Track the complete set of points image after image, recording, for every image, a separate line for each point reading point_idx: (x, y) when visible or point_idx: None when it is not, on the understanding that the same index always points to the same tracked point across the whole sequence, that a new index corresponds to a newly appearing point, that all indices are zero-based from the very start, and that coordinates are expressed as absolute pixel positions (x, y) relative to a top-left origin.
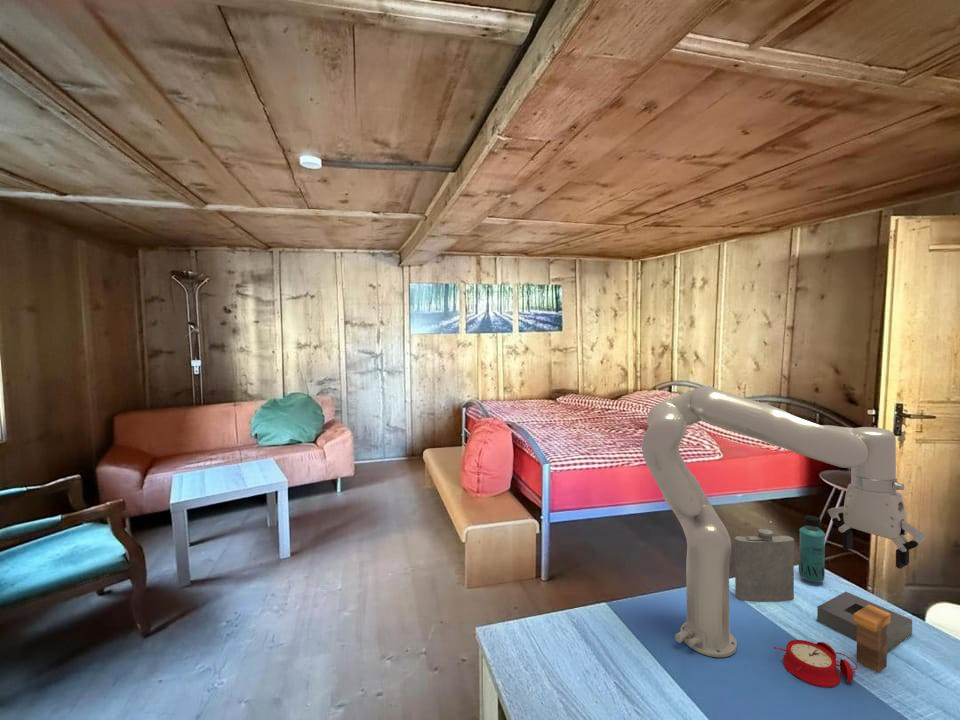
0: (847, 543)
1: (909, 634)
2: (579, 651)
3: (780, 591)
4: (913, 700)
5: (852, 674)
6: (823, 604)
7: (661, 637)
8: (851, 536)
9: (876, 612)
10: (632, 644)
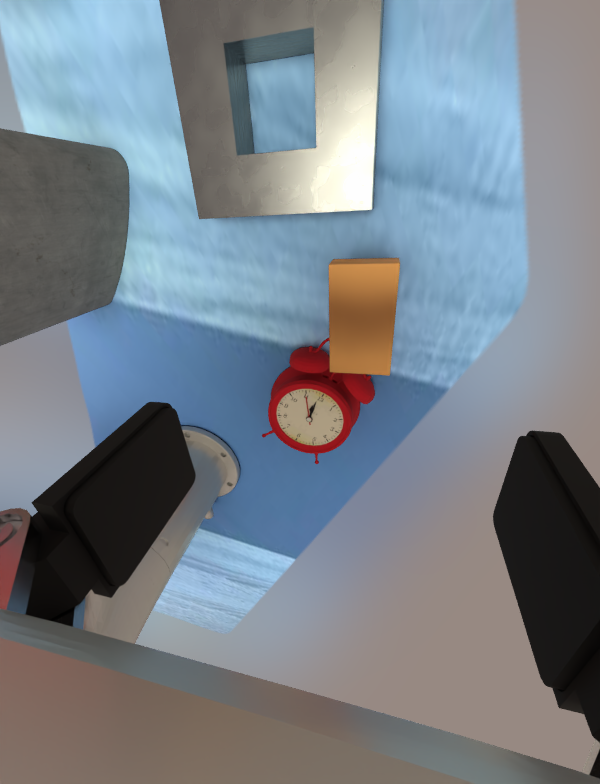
0: (167, 506)
1: None
2: None
3: (107, 215)
4: (464, 332)
5: (374, 395)
6: (195, 185)
7: None
8: (117, 497)
9: (366, 302)
10: None
